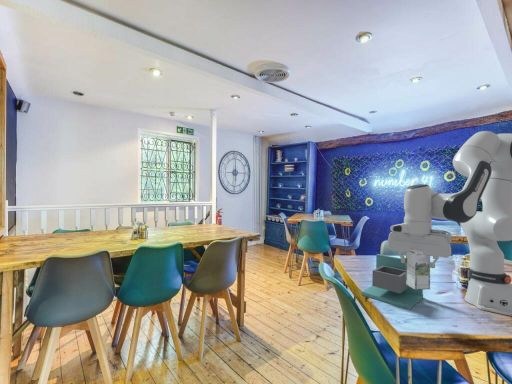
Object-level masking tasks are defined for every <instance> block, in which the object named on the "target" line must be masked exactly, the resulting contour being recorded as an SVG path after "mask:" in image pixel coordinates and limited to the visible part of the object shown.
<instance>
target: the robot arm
mask: <svg viewBox="0 0 512 384" xmlns="http://www.w3.org/2000/svg"><path fill="white" fill-rule="evenodd" d="M453 156H454V157H453V159H452V166H453V168H454V170H455V171H456V172H457V173H458V174H459V175H462V176H463V177H465V178H467V179H466V182H465V183H464V186H463V187H462V189H461V190H460V191H458V192H455V193H442V192H441V193H440V192H438V191H435V190H433V188H431V187H430V185H429V184H426V183H423V184H422V183H420V184H414V185H410V186H408V187H406V189H405V191H404V194H403V195H404V197H403V209H404V217H403V222H401V223H397V224H394V225H391V226H390V233H389V234H388V238H387V247H388V249H389V250H390V251H392V250H393V251H397V254H398V256H399V258H401V263H406V256H405V255H404V252H405V253H406V252H409V251H410V249H416V250H421V251H423V254H424V255H430V257H432V259H433V261H430V263H429V265H430V266H429V268H430V269H435V268H436V263H437V261H438V260H439V259H440V258H445V259H446V258H447V259H448V258H449V257H450V256H452V247H451V243H452V241H453V240H452V239H453V238H452V237H453V236H452V234H451V233H450V232H448V231H447V230H441V229H440V230H439V229H433V228H432V227H433V226H432V225H433V223H432V219H437V220H443V221H450V222H454V223H459V225H460V227H461V229H462V230H463V231H464V234H465V237H466V239H467V240H466V241H467V243H468V249H469V267H468V270H467V280H468V284H467V288H466V289H467V290H466V293H465V296H464V298H463V299H464V301H466V302H467V303H468V304H471V305H472V306H475V307H476V308H478V309H479V310H482V311H486V312H492V313H497V314H502V315H506V316H510V317H512V284H511V282H512V278H511V276H510V274H507V273H506V272H505V254H504V252H503V250H502V249H501V248H500V247H499V246H500V245H498V242H510V241H512V133H511V132H510V133H509V132H508V133H497V134H496V133H495V132H493V131H491V130H482V131H478V132H475V133H474V134H472V136H470V137H469V138H468V139H467V140H466V141H465V142H464V143H463V144H462V145H461V146H460V148H459V149H458V151H457V152H456V153H455V154H454V155H453ZM480 201H481V203H482V211H478V209H479V207H478V206H479V203H480Z"/></svg>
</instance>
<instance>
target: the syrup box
mask: <svg viewBox="0 0 512 384" xmlns="http://www.w3.org/2000/svg"><path fill="white" fill-rule="evenodd" d="M405 258H406V285H408V286H410V287H411V288H413V289H415V290H423V291H424V290H430V289H431V268H429V266H430V265H429V263H430V262H431V256H430V255H424V254H423V251H421V250H416V249H410V251H409V252H405Z"/></svg>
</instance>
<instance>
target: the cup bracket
mask: <svg viewBox="0 0 512 384" xmlns="http://www.w3.org/2000/svg"><path fill="white" fill-rule="evenodd" d="M375 256H376V260H375V261H376V262H375V263H376V264H375V265H376V266H375V269H374V268H373V270H372V274H371V275H372V279H371V280H372V283H371V286H369V287H366V288H365V289H364V290H362V291H361V296H364V297H367V298H371V299H374V300H377V301H380V302H383V303H387V304H390V305H393V306H397V307H398V308H399V307H400V308H404V309H407V310H410V311H411V310H412V309H413V308H414V307H415V306H416V305H417V304H419V302H420V301H421V300H422V299H423V298H424V289H423V290H415V289H413V288H411V287H410V286H408V285H406V263H401V257H397V256H396V257H395V256H390V255H385V254H379V253H377V254H376V255H375Z"/></svg>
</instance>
